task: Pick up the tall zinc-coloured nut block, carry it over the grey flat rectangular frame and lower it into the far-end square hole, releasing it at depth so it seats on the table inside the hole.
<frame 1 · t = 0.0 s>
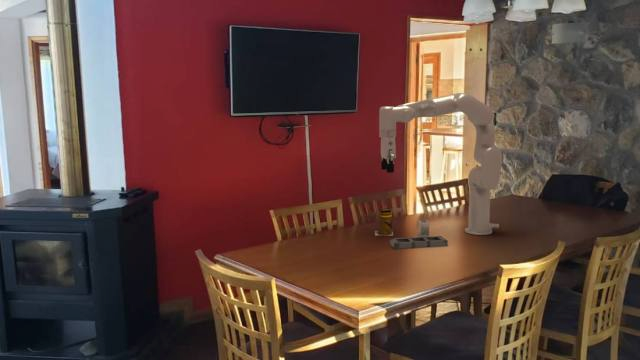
hand: (387, 170, 260), 31 cm above the table, tool pointing down, fingers open, 9 cm apart
grey flat rectangular frame: (418, 245, 251), on the table
condiment: (383, 234, 271), on the table
nut block: (423, 237, 263), on the table
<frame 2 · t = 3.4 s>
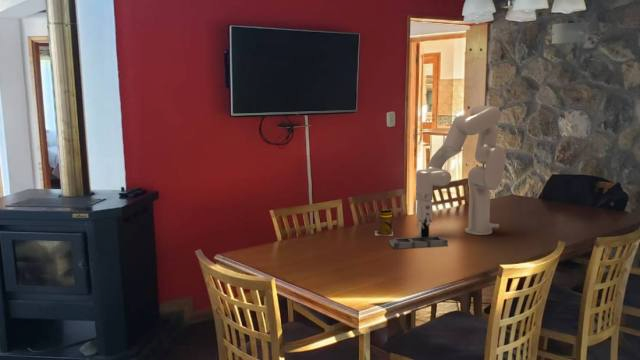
hand: (423, 235, 262), 1 cm above the table, tool pointing down, fingers closed on nut block, 4 cm apart
nut block: (423, 237, 263), on the table, touching gripper
everything else where it was.
when the fingers open (3 cm above the table, at t = 7.8 s): nut block drops 2 cm, resting in grey flat rectangular frame.
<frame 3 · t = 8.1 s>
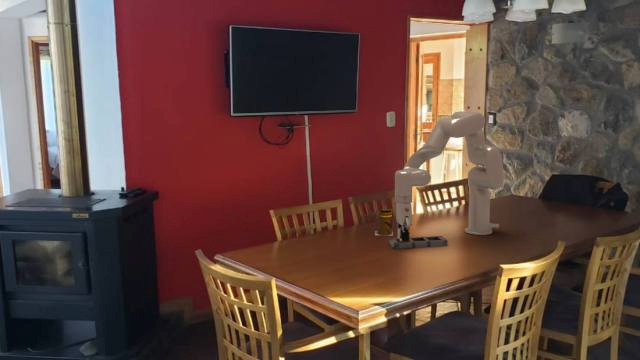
hand: (403, 238, 249), 3 cm above the table, tool pointing down, fingers open, 6 cm apart
nut block: (403, 245, 250), resting in grey flat rectangular frame
everything else where it was.
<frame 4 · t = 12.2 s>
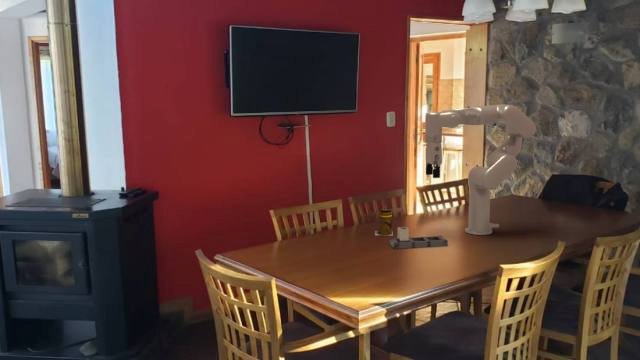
hand: (432, 176, 262), 28 cm above the table, tool pointing down, fingers open, 9 cm apart
nothing on the table moved.
at the end: nut block 0.0 cm from the target spot on the grey flat rectangular frame, point 0.0 cm above the grey flat rectangular frame's base; nut block tilted 0°; the gripper is holding nothing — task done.
